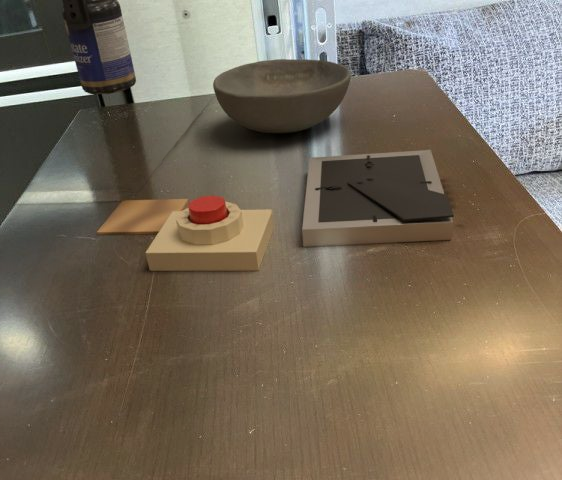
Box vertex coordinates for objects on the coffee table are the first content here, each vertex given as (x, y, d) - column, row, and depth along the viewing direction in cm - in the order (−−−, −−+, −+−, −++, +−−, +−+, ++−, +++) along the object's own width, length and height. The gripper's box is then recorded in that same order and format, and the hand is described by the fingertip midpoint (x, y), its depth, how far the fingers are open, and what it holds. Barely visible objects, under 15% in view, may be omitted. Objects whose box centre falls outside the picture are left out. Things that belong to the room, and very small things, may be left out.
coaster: (97, 235, 75) (96, 232, 75) (123, 203, 82) (122, 200, 82) (168, 234, 73) (167, 231, 73) (188, 201, 80) (188, 198, 80)
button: (186, 227, 66) (183, 211, 65) (196, 210, 69) (193, 195, 68) (222, 226, 65) (220, 211, 64) (231, 210, 68) (228, 195, 67)
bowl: (228, 112, 108) (221, 62, 103) (348, 101, 107) (347, 50, 102) (213, 156, 92) (204, 99, 87) (355, 145, 90) (354, 86, 85)
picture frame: (451, 240, 66) (429, 165, 82) (453, 215, 64) (431, 143, 80) (303, 247, 68) (310, 173, 84) (301, 223, 66) (308, 152, 82)
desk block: (149, 271, 67) (141, 237, 64) (176, 228, 74) (169, 196, 72) (258, 270, 65) (254, 235, 62) (274, 226, 72) (271, 193, 70)
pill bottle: (74, 90, 71) (42, -23, 64) (121, 77, 74) (95, -33, 67) (99, 99, 67) (67, -21, 60) (147, 84, 70) (122, -31, 63)
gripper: (38, -180, 62) (87, 12, 73) (-40, -187, 51) (31, 40, 62) (109, -190, 61) (148, 6, 71) (44, -199, 50) (102, 35, 60)
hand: (93, 21), depth 66 cm, fingers closed on pill bottle, 6 cm apart
